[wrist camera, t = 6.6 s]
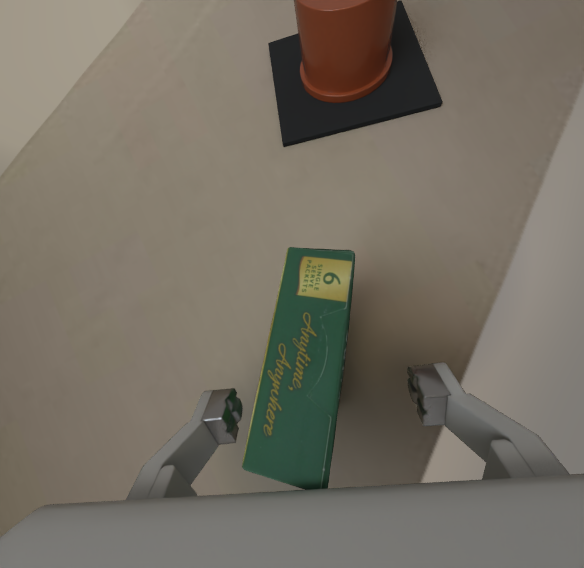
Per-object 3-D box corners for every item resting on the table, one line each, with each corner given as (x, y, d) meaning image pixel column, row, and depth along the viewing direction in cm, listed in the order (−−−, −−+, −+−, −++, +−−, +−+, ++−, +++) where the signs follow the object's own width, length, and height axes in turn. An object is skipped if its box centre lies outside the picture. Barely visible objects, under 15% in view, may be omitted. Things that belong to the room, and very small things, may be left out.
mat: (400, 5, 30) (401, -1, 29) (440, 106, 25) (442, 101, 25) (269, 47, 32) (268, 42, 32) (283, 147, 27) (282, 143, 27)
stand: (379, 25, 29) (392, -82, 22) (401, 87, 26) (423, -13, 19) (295, 52, 30) (281, -41, 23) (307, 113, 27) (295, 28, 20)
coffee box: (316, 305, 22) (283, 239, 10) (350, 310, 21) (362, 246, 9) (299, 404, 20) (231, 481, 8) (336, 413, 19) (326, 513, 7)
